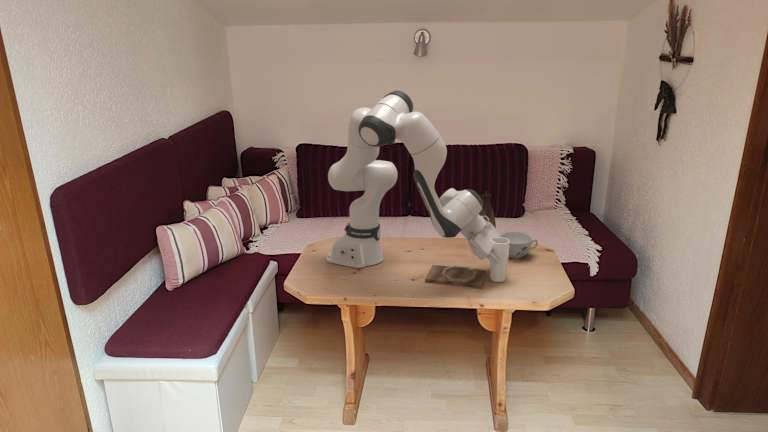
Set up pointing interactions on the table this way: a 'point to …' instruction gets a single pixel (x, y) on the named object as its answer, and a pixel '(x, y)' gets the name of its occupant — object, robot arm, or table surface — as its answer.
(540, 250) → the table surface
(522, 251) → the teacup
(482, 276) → the walnut board
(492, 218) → the statue
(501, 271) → the drinking glass
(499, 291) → the table surface
